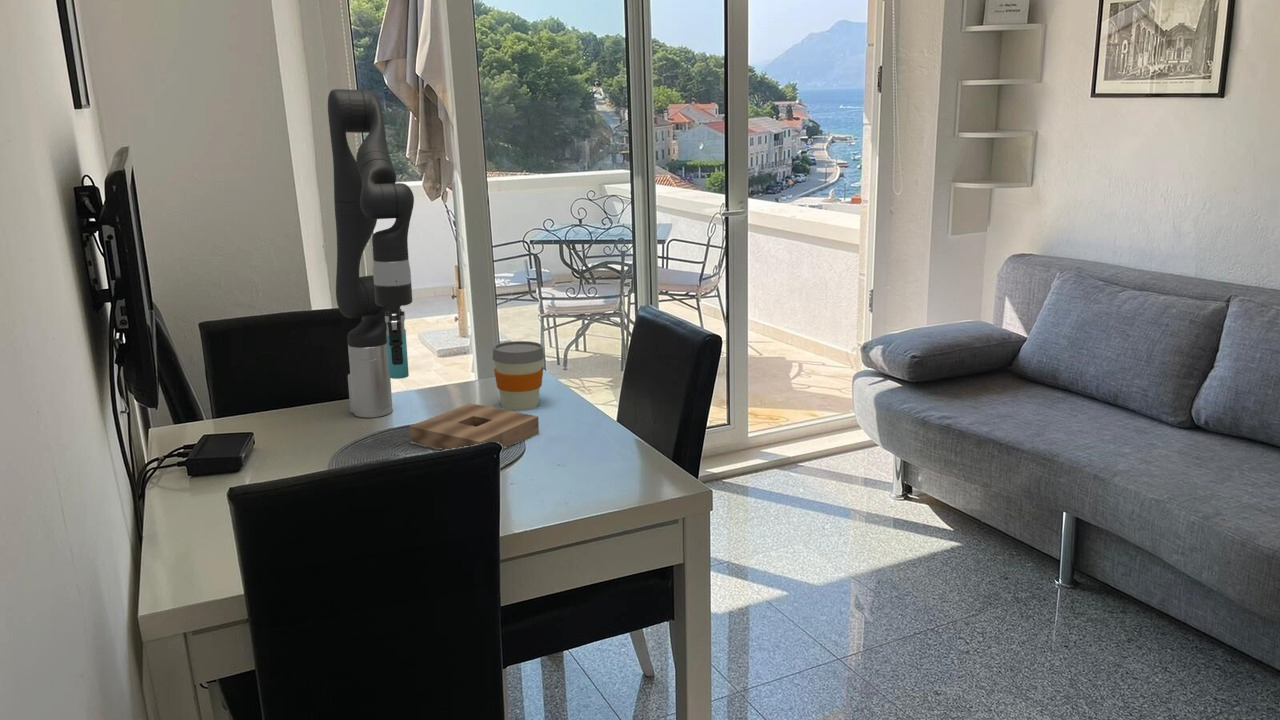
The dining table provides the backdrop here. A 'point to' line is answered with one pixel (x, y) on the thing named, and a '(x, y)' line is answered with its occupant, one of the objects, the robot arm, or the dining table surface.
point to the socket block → (474, 427)
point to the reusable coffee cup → (518, 373)
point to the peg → (402, 369)
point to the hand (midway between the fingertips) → (398, 361)
